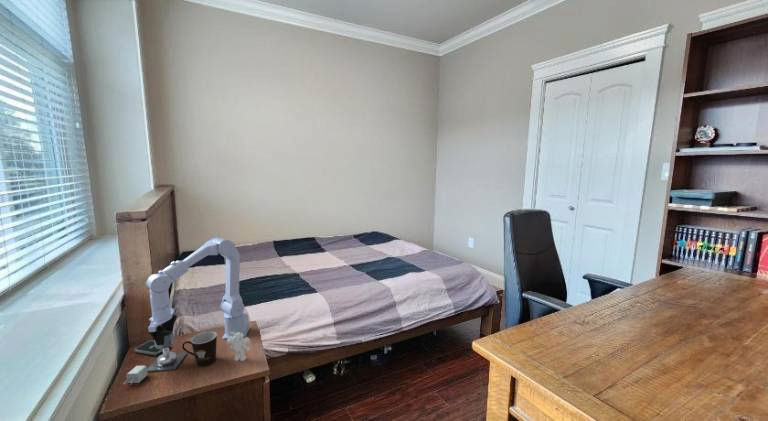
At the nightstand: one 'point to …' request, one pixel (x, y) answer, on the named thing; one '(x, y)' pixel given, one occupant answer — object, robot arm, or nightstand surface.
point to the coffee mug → (203, 348)
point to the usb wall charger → (136, 374)
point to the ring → (166, 340)
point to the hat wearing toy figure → (238, 345)
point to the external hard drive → (149, 349)
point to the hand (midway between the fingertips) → (164, 340)
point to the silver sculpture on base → (166, 361)
